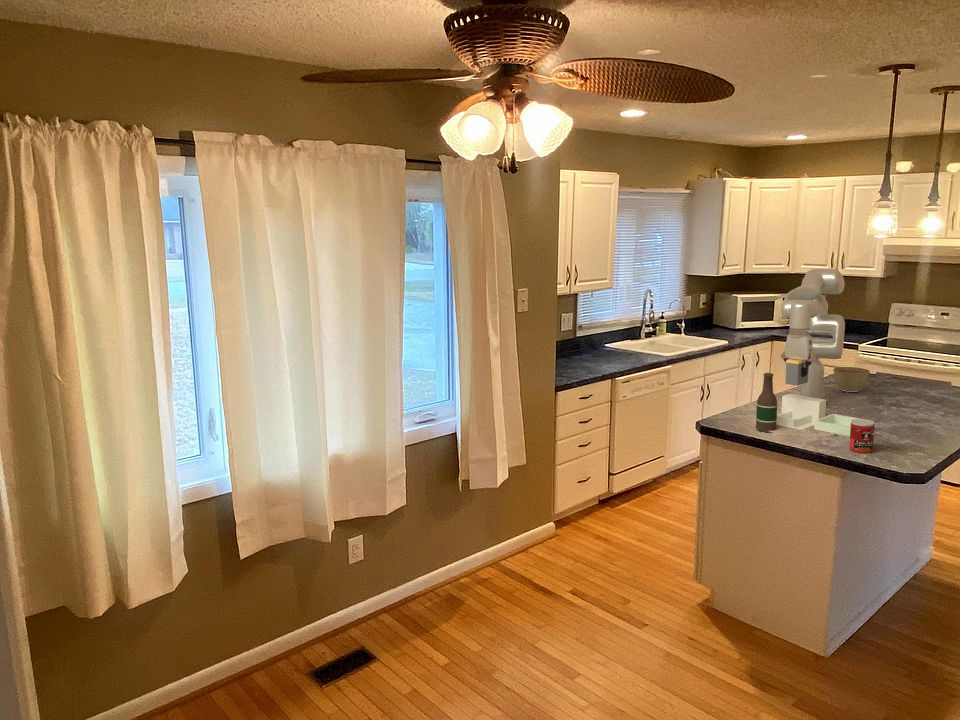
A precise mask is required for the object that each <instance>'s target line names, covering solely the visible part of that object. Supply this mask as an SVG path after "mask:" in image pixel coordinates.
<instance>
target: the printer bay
mask: <svg viewBox="0 0 960 720" xmlns="http://www.w3.org/2000/svg"><path fill="white" fill-rule="evenodd" d="M781 397H782V399H781V413H777V422H776V426H780V427H781V426H782V427H786V428H791V429H796V430H800V431H801V430H805V429H807V428H810V427H812V426H813V427H814V422H815V420H818V419H820V418H823V417H826V411H827V410H826V408H827V399H824V398H822V399H819V398H812V397H806V396H800V394H794V393H793V394H792V393H788V394H784V395H782V396H781Z"/></svg>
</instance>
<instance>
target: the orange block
mask: <svg viewBox="0 0 960 720" xmlns="http://www.w3.org/2000/svg"><path fill="white" fill-rule="evenodd" d="M809 360H810V359H808V361H809ZM802 367H803V364H802V360H796V359H789V360H786V362H785V385H791V386H801V384H804V383H807V382H808V372H809V367H808V371H807V375H806V376H805V377H802V376H801V372H802Z"/></svg>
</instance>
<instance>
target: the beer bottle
mask: <svg viewBox="0 0 960 720" xmlns="http://www.w3.org/2000/svg"><path fill="white" fill-rule="evenodd" d="M762 377H763V384H762V391H761V393H760V394H759V396H758V398H757V400H756V401H757V402H756V412H755V413H756V416H755V417H756V418H755V430H756V431H757V430H758V432H759V433H763V432H764V434H769V433H770V434H773V433H774V432H773V431H775V430H777V425H776V422H777V415H778V399H777V396H776V395H775V393H774V385H773V377H774V373H772V372H765V373H763V375H762Z"/></svg>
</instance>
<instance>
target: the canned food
mask: <svg viewBox="0 0 960 720" xmlns="http://www.w3.org/2000/svg"><path fill="white" fill-rule="evenodd" d="M875 426H876V425H875V422H874V421H873V420H871V419H866V418H860V419H853V420H851V428H850V439H849V447H848V448H849V449H850V451H851V452H853V453H857V454H871V453H872V452H873V451H874V450H873V449H874V441H875V440H874V438H875Z"/></svg>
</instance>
